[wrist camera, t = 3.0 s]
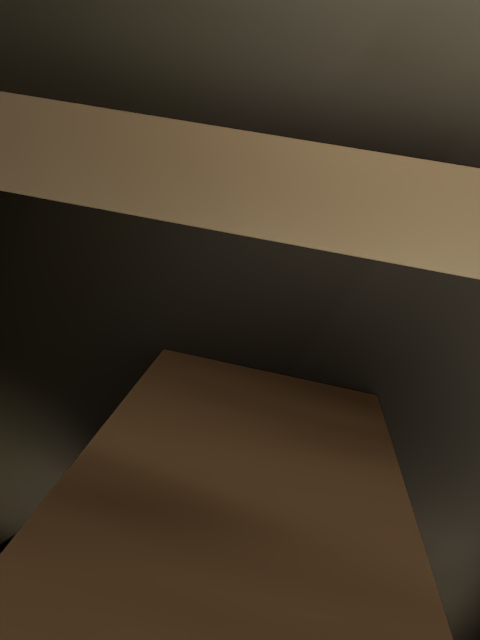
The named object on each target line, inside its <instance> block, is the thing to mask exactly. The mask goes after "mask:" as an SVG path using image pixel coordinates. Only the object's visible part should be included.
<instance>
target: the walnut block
mask: <svg viewBox="0 0 480 640" xmlns="http://www.w3.org/2000/svg"><path fill="white" fill-rule="evenodd" d="M0 640H453V638H452V634H451V631H450V628H449V625H448V622H447V618H446V615H445V612H444V609H443V605H442V602H441V599H440V596H439V593H438V589H437V586H436V583H435V580H434V577H433V573H432V570H431V567H430V564H429V560H428V557H427V554H426V551H425V548H424V544H423V541H422V538H421V535H420V532H419V528H418V525H417V522H416V519H415V515H414V512H413V509H412V506H411V503H410V499H409V496H408V493H407V490H406V487H405V483H404V480H403V477H402V474H401V470H400V467H399V464H398V461H397V458H396V454H395V451H394V448H393V445H392V442H391V438H390V435H389V432H388V429H387V425H386V422H385V419H384V416H383V413H382V409H381V406H380V403H379V400H378V397H377V395H374V394H369V393H364V392H360V391H355V390H351V389H346V388H341V387H337V386H332V385H328V384H323V383H318V382H314V381H309V380H304V379H300V378H295V377H291V376H286V375H281V374H277V373H272V372H267V371H263V370H258V369H254V368H249V367H244V366H240V365H235V364H231V363H226V362H221V361H217V360H212V359H207V358H203V357H198V356H194V355H189V354H184V353H180V352H175V351H170V350H166V349H163V351H162V352H161V353H160V354H159V356H158V357H157V358H156V359H155V361H154V362H153V363H152V364H151V366H150V367H149V368H148V369H147V371H146V372H145V373H144V374H143V376H142V377H141V378H140V379H139V381H138V382H137V383H136V385H135V386H134V387H133V388H132V390H131V391H130V392H129V393H128V395H127V396H126V397H125V398H124V400H123V401H122V402H121V403H120V405H119V406H118V407H117V408H116V410H115V411H114V412H113V413H112V415H111V416H110V417H109V418H108V420H107V421H106V422H105V423H104V425H103V426H102V427H101V428H100V430H99V431H98V432H97V433H96V435H95V436H94V437H93V438H92V440H91V441H90V442H89V443H88V445H87V446H86V447H85V448H84V450H83V451H82V452H81V453H80V455H79V456H78V457H77V458H76V460H75V461H74V462H73V463H72V465H71V466H70V467H69V468H68V470H67V471H66V472H65V473H64V475H63V476H62V477H61V479H60V480H59V481H58V482H57V484H56V485H55V486H54V487H53V489H52V490H51V491H50V492H49V494H48V495H47V496H46V497H45V499H44V500H43V501H42V502H41V504H40V505H39V506H38V507H37V509H36V510H35V511H34V512H33V514H32V515H31V516H30V517H29V519H28V520H27V521H26V522H25V524H24V525H23V526H22V527H21V529H20V530H19V531H18V532H17V534H16V535H15V536H14V537H13V539H12V540H11V541H10V542H9V544H8V545H7V546H6V547H5V549H4V550H3V551H2V552H1V554H0Z"/></svg>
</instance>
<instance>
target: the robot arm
mask: <svg viewBox="0 0 480 640" xmlns="http://www.w3.org/2000/svg"><path fill="white" fill-rule="evenodd" d="M16 534H17V533H16ZM16 534H15V535H16ZM15 535H13V536H12V537H10V538H9V539H7V540H6V541H4V542H3V543H1V544H0V554H1V552H2V551H3V550H4V549H5V547H6V546H7V545H8V544H9V542H10V541H11V540H12V539H13V537H14V536H15Z"/></svg>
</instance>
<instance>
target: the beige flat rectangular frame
mask: <svg viewBox="0 0 480 640" xmlns="http://www.w3.org/2000/svg"><path fill="white" fill-rule="evenodd" d="M0 191H5V192H11V193H16V194H22V195H27V196H32V197H38V198H43V199H49V200H54V201H59V202H65V203H70V204H76V205H81V206H86V207H92V208H97V209H102V210H108V211H113V212H119V213H124V214H129V215H135V216H140V217H146V218H151V219H156V220H162V221H167V222H173V223H178V224H183V225H189V226H194V227H200V228H205V229H210V230H216V231H221V232H227V233H232V234H237V235H243V236H248V237H254V238H259V239H264V240H270V241H275V242H280V243H286V244H291V245H297V246H302V247H307V248H313V249H318V250H324V251H329V252H334V253H340V254H345V255H351V256H356V257H361V258H367V259H372V260H378V261H383V262H388V263H394V264H399V265H405V266H410V267H415V268H421V269H426V270H432V271H437V272H442V273H448V274H453V275H458V276H464V277H469V278H475V279H480V168H474V167H468V166H462V165H456V164H450V163H443V162H437V161H431V160H425V159H418V158H412V157H406V156H400V155H394V154H387V153H381V152H375V151H369V150H363V149H356V148H350V147H344V146H338V145H331V144H325V143H319V142H313V141H307V140H300V139H294V138H288V137H282V136H276V135H269V134H263V133H257V132H251V131H244V130H238V129H232V128H226V127H220V126H213V125H207V124H201V123H195V122H189V121H182V120H176V119H170V118H164V117H157V116H151V115H145V114H139V113H133V112H126V111H120V110H114V109H108V108H102V107H95V106H89V105H83V104H77V103H70V102H64V101H58V100H52V99H46V98H39V97H33V96H27V95H21V94H15V93H8V92H2V91H0Z"/></svg>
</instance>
